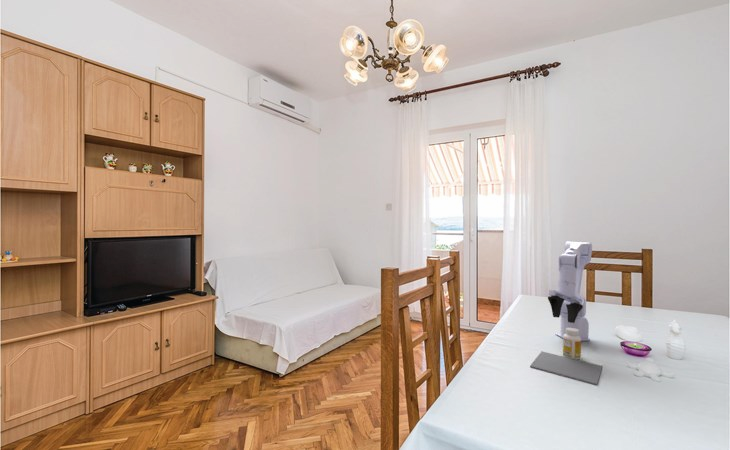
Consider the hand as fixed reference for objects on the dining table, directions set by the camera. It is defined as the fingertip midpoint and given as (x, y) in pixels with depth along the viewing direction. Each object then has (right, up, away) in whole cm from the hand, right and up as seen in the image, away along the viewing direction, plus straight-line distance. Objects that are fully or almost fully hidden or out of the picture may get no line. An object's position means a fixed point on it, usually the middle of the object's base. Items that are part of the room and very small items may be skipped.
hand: (563, 319), depth 123 cm
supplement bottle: (-1, -12, -6) cm, 13 cm away
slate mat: (-8, -11, -14) cm, 20 cm away
